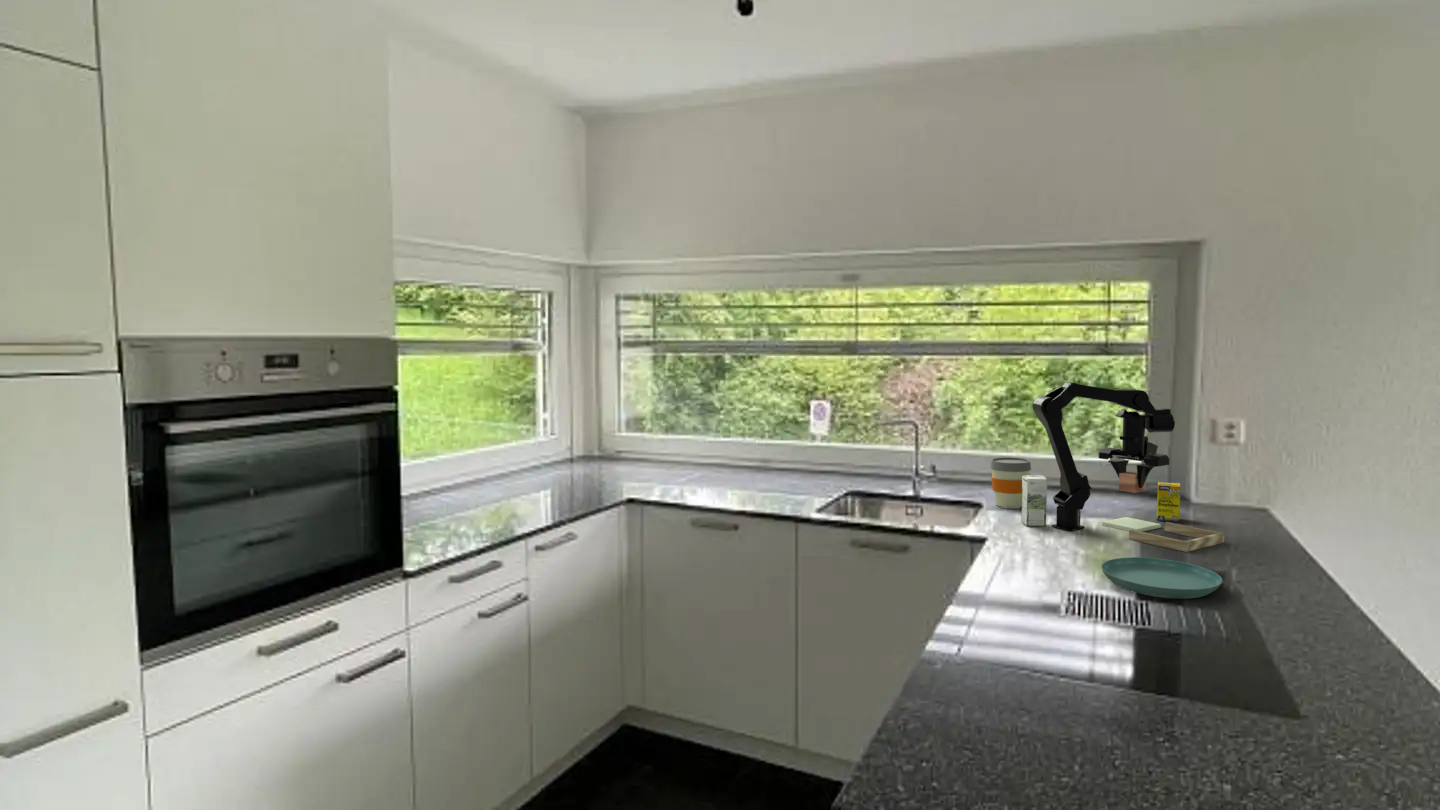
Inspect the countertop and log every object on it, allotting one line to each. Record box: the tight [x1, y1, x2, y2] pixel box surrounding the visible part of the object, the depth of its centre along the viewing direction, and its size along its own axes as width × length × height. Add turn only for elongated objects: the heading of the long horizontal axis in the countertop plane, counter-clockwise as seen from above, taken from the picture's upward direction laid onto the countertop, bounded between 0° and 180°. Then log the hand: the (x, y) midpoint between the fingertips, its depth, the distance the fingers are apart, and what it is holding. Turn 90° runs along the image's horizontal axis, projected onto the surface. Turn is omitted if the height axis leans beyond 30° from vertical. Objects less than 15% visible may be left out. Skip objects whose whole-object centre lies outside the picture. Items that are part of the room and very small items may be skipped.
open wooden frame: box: [1128, 521, 1225, 553], centre depth 225 cm, size 17×16×2 cm
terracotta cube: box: [1118, 470, 1147, 494], centre depth 241 cm, size 5×5×5 cm
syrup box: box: [1021, 474, 1048, 527], centre depth 246 cm, size 6×6×14 cm
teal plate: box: [1100, 556, 1223, 600], centre depth 188 cm, size 24×24×3 cm
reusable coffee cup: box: [990, 456, 1032, 509], centre depth 272 cm, size 13×12×15 cm
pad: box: [1101, 516, 1162, 532], centre depth 242 cm, size 11×11×1 cm
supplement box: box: [1156, 481, 1181, 524], centre depth 248 cm, size 6×6×11 cm
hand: (1132, 486), depth 241 cm, fingers closed on terracotta cube, 5 cm apart
